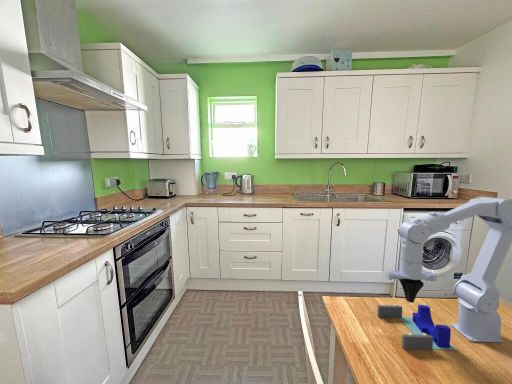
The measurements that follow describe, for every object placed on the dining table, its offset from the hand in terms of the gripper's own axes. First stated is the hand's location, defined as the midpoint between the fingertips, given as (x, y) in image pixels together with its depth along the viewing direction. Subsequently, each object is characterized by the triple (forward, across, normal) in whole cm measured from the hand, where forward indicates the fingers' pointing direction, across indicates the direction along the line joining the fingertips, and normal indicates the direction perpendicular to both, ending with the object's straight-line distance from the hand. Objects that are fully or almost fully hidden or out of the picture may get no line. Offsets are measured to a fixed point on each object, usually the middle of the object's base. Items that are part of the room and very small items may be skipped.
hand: (409, 300), depth 73 cm
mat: (+10, -5, 0) cm, 12 cm away
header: (+10, +2, 0) cm, 11 cm away
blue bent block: (+10, -6, +1) cm, 12 cm away
